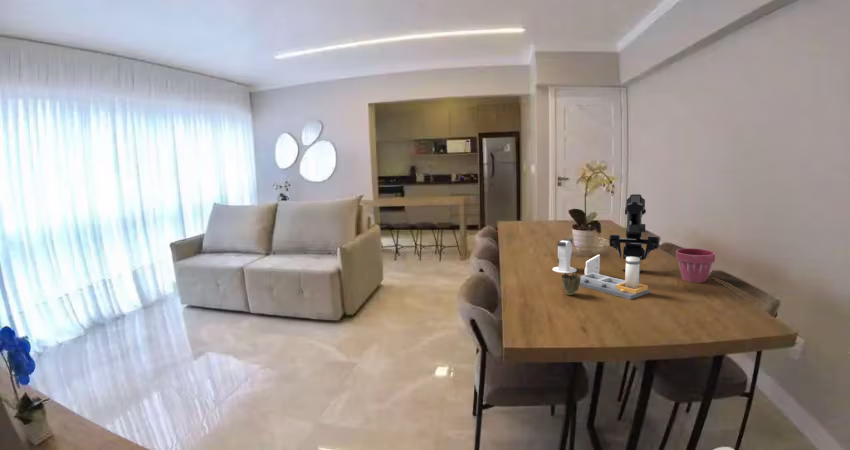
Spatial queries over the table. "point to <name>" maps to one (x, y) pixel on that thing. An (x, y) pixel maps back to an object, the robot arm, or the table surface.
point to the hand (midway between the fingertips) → (632, 258)
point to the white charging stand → (564, 257)
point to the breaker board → (612, 286)
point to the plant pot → (695, 264)
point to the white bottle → (632, 272)
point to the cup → (570, 283)
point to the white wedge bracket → (593, 265)
